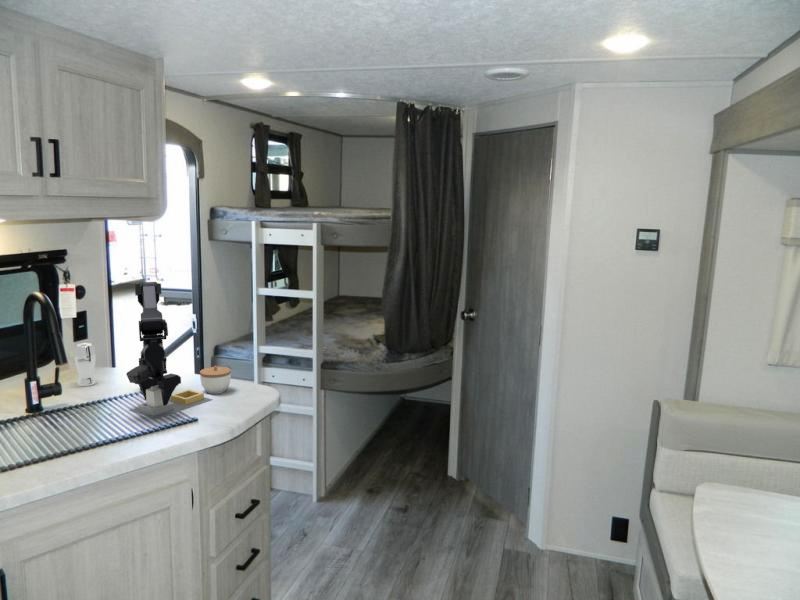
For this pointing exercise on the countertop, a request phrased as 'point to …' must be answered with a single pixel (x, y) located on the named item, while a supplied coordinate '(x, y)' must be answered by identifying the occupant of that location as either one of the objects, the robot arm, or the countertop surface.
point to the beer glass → (85, 363)
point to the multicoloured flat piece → (173, 404)
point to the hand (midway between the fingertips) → (156, 402)
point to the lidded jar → (215, 379)
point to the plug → (154, 397)
